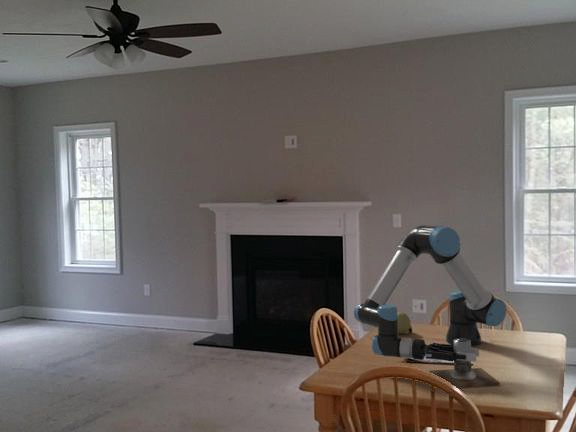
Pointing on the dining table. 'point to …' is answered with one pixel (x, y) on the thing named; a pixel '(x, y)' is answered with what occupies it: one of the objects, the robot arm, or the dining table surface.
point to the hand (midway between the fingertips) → (477, 355)
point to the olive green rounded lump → (404, 323)
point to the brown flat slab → (467, 378)
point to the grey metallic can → (465, 347)
